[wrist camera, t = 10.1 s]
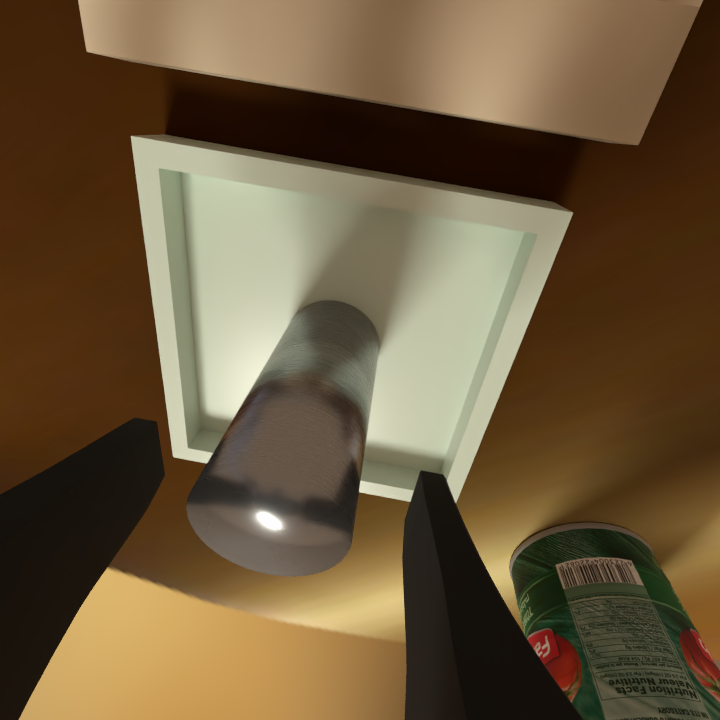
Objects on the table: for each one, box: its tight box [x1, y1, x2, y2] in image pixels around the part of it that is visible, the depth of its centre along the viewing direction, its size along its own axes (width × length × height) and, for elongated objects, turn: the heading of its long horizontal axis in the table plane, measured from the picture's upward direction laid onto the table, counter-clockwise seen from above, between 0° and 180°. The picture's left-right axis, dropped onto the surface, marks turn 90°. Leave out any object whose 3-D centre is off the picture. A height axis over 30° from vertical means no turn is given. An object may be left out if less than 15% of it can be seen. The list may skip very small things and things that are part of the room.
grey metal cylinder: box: [187, 300, 379, 576], centre depth 13 cm, size 4×4×9 cm
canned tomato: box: [509, 522, 720, 720], centre depth 19 cm, size 8×8×11 cm
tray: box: [131, 135, 573, 503], centre depth 17 cm, size 14×14×2 cm
